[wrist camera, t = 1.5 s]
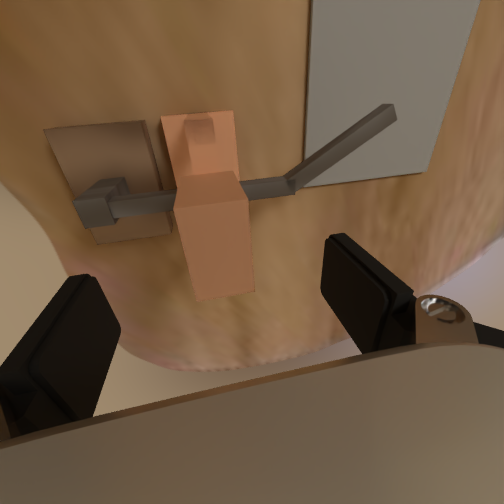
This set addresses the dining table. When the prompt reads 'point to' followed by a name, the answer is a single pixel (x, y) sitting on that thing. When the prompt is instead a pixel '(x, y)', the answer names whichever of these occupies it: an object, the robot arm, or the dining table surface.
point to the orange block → (210, 203)
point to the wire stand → (148, 179)
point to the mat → (382, 79)
